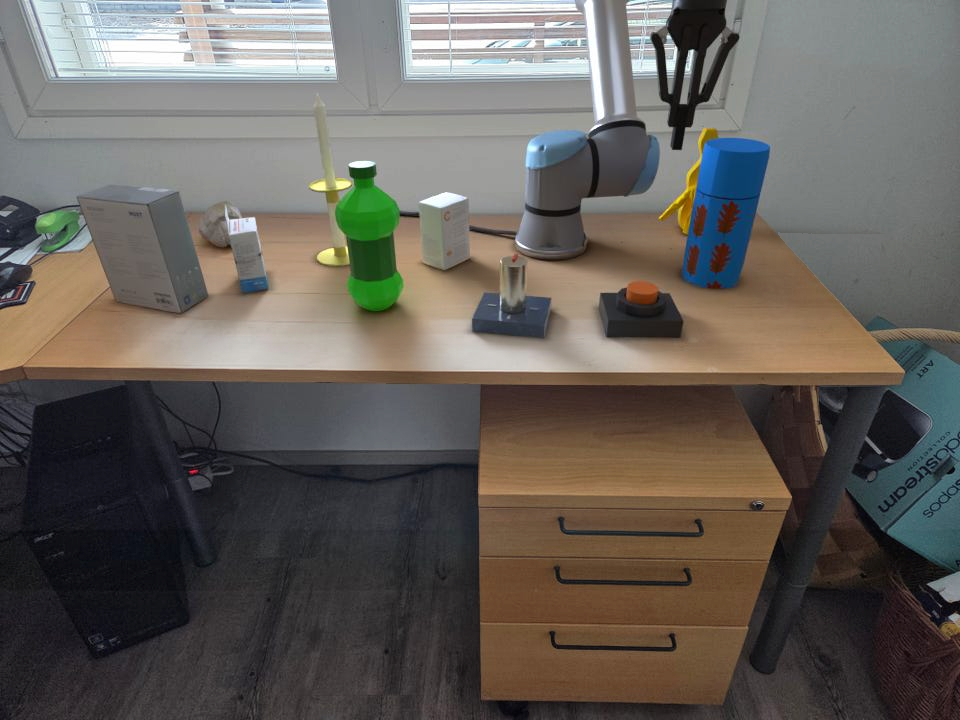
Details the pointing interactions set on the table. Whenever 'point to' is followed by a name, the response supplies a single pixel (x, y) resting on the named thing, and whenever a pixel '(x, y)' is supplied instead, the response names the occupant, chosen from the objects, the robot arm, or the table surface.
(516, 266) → the dial knob
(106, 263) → the hard drive box
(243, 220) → the ink box
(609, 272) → the table surface
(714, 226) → the thermos
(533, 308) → the dial panel
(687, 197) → the figure statuette
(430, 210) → the small box
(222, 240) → the fossil replica
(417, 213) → the robot arm
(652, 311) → the black button base
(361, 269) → the plastic bottle
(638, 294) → the button
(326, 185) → the candle
